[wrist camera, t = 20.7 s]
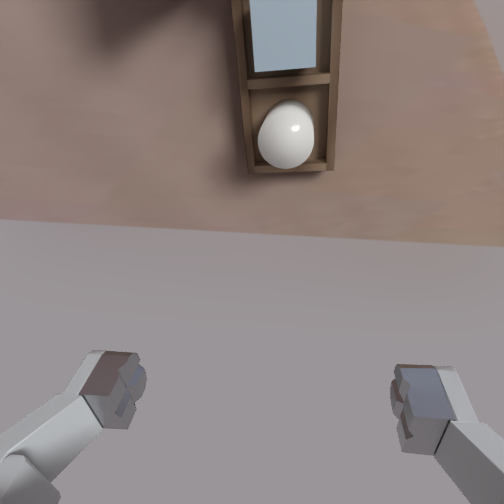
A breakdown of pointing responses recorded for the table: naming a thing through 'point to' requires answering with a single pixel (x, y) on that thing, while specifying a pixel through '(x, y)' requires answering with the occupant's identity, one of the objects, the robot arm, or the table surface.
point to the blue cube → (283, 34)
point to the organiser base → (291, 87)
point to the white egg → (287, 134)
